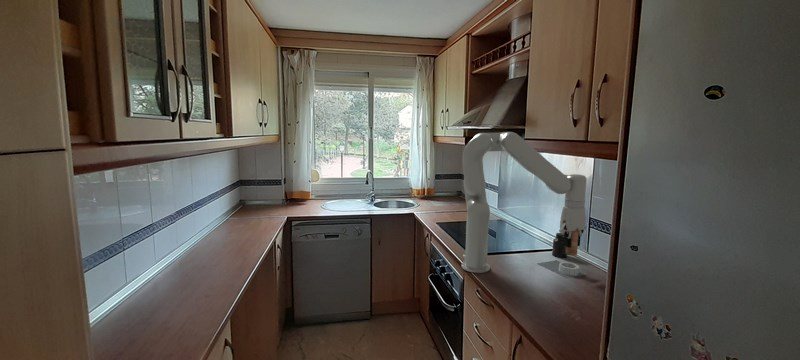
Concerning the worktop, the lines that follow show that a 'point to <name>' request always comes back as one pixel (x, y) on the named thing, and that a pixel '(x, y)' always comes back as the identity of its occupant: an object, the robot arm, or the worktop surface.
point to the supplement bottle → (559, 247)
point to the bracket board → (563, 268)
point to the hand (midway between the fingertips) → (571, 245)
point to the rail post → (573, 243)
